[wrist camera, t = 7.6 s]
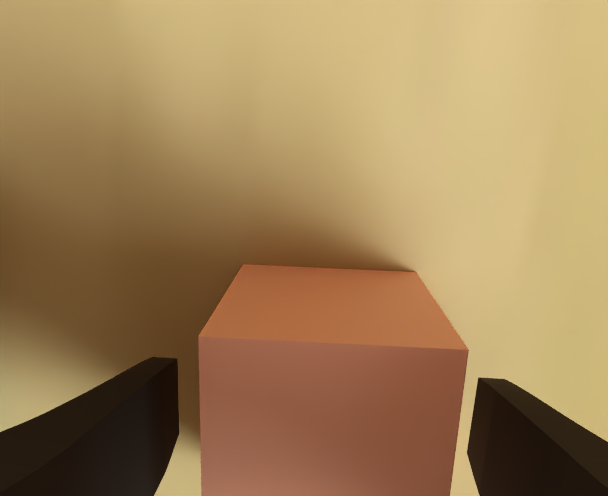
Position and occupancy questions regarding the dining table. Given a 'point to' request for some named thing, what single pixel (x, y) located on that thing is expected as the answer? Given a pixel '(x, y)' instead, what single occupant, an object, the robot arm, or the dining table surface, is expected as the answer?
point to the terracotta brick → (328, 385)
